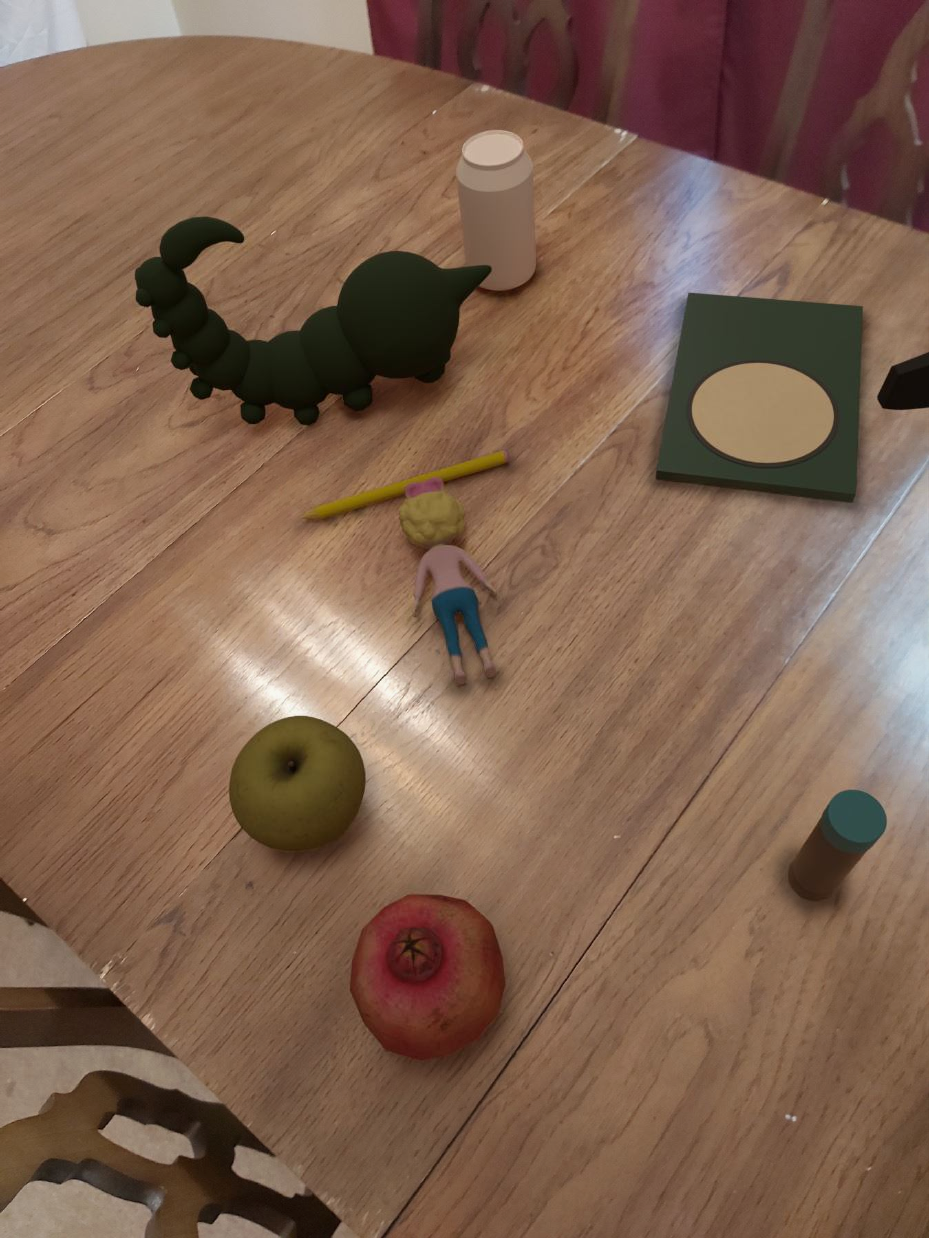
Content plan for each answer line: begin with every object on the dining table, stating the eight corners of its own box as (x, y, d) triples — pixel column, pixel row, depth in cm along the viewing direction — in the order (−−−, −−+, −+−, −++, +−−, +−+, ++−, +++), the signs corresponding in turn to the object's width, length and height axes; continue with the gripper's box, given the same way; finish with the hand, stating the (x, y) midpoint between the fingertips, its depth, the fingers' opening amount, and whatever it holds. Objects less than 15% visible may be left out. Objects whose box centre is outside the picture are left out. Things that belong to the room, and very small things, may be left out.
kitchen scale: (687, 301, 79) (688, 291, 78) (859, 316, 77) (863, 304, 76) (655, 479, 69) (656, 469, 68) (852, 503, 67) (856, 492, 66)
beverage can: (547, 285, 82) (544, 156, 72) (482, 306, 82) (469, 179, 72) (521, 245, 86) (514, 117, 76) (458, 265, 85) (443, 138, 75)
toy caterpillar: (227, 476, 76) (521, 388, 75) (110, 289, 60) (481, 174, 59) (218, 397, 81) (494, 314, 80) (109, 205, 65) (451, 98, 64)
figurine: (520, 676, 63) (466, 502, 70) (518, 646, 59) (461, 465, 66) (434, 698, 62) (389, 521, 70) (426, 669, 58) (380, 485, 66)
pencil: (504, 456, 72) (504, 447, 71) (509, 465, 71) (508, 456, 71) (298, 518, 71) (295, 509, 70) (301, 527, 70) (298, 519, 69)
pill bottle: (826, 850, 54) (873, 784, 45) (844, 896, 52) (896, 837, 44) (780, 859, 54) (819, 795, 45) (797, 905, 52) (840, 847, 44)
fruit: (350, 1056, 50) (307, 1025, 42) (382, 906, 54) (348, 851, 46) (498, 1082, 49) (483, 1056, 40) (519, 927, 53) (510, 874, 45)
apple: (399, 821, 57) (379, 776, 51) (284, 895, 55) (250, 857, 49) (340, 730, 61) (315, 677, 55) (231, 796, 59) (193, 750, 53)
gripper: (1178, 227, 41) (889, 262, 40) (1413, 468, 33) (1061, 519, 32) (1090, 352, 47) (836, 386, 46) (1272, 581, 39) (971, 628, 38)
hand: (924, 449), depth 40 cm, fingers open, 7 cm apart
